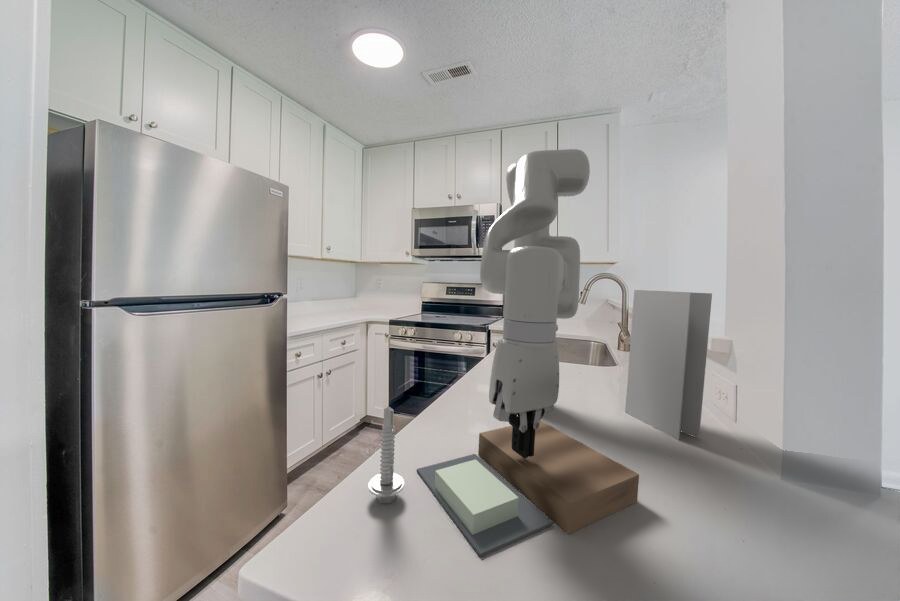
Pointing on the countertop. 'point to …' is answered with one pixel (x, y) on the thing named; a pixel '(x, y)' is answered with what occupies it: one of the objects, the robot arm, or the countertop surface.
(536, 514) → the mat
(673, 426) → the brochure
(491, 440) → the brown wooden flat block
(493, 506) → the tile
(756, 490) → the countertop surface
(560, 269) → the robot arm
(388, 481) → the screw
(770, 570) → the countertop surface
